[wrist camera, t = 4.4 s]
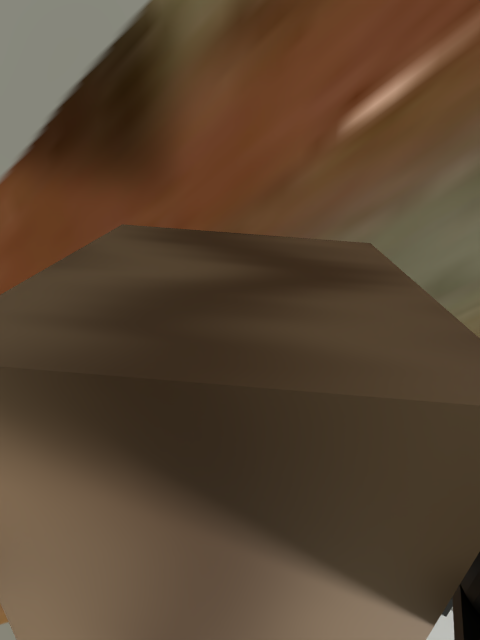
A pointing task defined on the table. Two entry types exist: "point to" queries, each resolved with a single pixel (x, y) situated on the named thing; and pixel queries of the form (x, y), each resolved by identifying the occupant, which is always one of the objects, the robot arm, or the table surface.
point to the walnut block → (233, 443)
